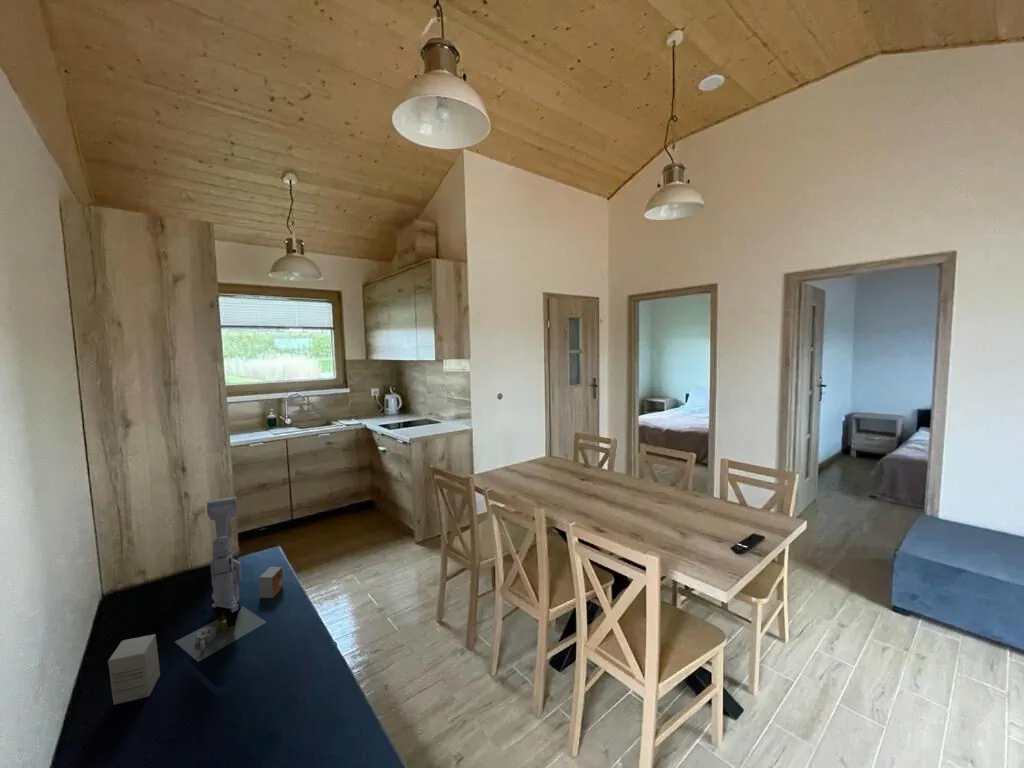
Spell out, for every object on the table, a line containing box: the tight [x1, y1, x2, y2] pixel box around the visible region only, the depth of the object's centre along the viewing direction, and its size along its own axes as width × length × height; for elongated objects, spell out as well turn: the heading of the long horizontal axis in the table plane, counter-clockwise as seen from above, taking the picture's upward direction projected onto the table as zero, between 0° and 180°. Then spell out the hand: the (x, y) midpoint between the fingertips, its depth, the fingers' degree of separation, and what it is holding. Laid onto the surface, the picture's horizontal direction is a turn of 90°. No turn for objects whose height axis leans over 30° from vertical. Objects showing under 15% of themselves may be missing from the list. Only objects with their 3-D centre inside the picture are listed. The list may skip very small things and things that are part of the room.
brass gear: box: [216, 615, 236, 633], centre depth 159 cm, size 6×6×4 cm
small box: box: [258, 566, 284, 599], centre depth 180 cm, size 8×6×10 cm
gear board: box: [174, 605, 267, 663], centre depth 157 cm, size 17×23×4 cm
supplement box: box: [107, 633, 161, 705], centre depth 133 cm, size 9×9×15 cm
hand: (226, 622), depth 159 cm, fingers open, 7 cm apart
